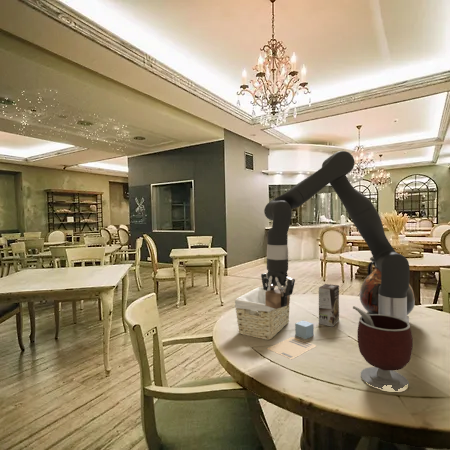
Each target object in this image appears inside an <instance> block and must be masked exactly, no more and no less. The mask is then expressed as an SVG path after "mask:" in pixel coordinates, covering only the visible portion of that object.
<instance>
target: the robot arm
mask: <svg viewBox="0 0 450 450" xmlns="http://www.w3.org/2000/svg"><path fill="white" fill-rule="evenodd" d="M355 164H356V163H355V158H354V156H353V155H352V153H350V152H349V151H346V150H339V151H336V152H334V153H333V154H332V155H330V156H329V157H328V158H326V159H325V160H324V161H323V162H322V165H321V167H320V168H319V169H318V170H316V171H315V172H314V173H312V174H310V175H309V176H307V177H306V178H304V179H302V180H301V181H299V182H298V183H297V184H295V185H294V186H293V187H291V188H290V189H289V190H287V192H285V193H283V194H281V195H279V196H276V197H275V198H273V199H272V200H270V201H268V202H267V204H266V205H265V207H264V210H263V212H264V216H265V217H266V219H267V220H269V221H272V226H271V227H270V228H269V229H268V230H267V247H266V270H267V272H265V273H261V274H260V276H261V277H260V278H261V282H262V287H263V289H264V290H266V291H270V290H274V288H275V289H276V287H277V289H279V290H280V293H281V307H285V306H286V305H287V296H288V295H290V296H292V294H293V292H294V286H295V282H296V279H295V278H291V277H289V275H288V270H289V246H288V245H289V244H288V240H289V239H288V232H289V228H290V225H291V220H292V214H293V213H292V210H294V209H297V208H299V207H300V206H302V205H303V204H305V203H306V202H308V201H309V200H310V199H312V197H314V196H315V195H317V194H318V193H319V192H320V191H321V190H322V189H324V188H325V187H326V186H328V185H330V187H332V189H333V190H334V192H335V193H336V195H337V197H338V198H339V199H340V202H341V204H342V205H343V207H344V209H345V210H346V212H347V214H348V216H349V218H350V219H351V221H352V223H353V225H354V226H355V228H356V230H357V231H358V233H359V234H360V236H361V237H362V239H363V240H364V242H365V243H366V245H367V247H368V249H369V251H370V253H371V257H373V258H374V260H375V263H376V265H377V267H378V269H379V270H380V271H381V285H380V286H379V314H381V315H389V316H393V317H397V318H400V319H403V320H405V321H407V322H408V323H409V324H410V317H409V315H407V291H408V289H409V284H410V271H411V270H410V263H409V261H408V259H407V258H406V256H405V255H402V254H401V253H398V252H396V250H395V249H394V247H393V246H392V244H391V242H390V241H389V240H388V238H387V236H386V232H385V228H384V226H383V222H382V219H381V217H380V214H379V212H378V211H377V209H376V207H375V205H374V204H373V202H372V201H371V200H370V199H369V198H368V197H367V196H366V195H365V194H363V193H361V192H360V191H359V190H357V189H356V188H355V187H354V186H353V185H352V184H351V182H350V180H349V179H348V177H347V175H349V174H350V173H351V172H352V171H353V169H354V167H355ZM283 290H284V291H283Z"/></svg>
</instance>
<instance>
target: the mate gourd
mask: <svg viewBox="0 0 450 450" xmlns="http://www.w3.org/2000/svg"><path fill="white" fill-rule="evenodd" d="M352 309H353V310H355V311H356V312H358V313H359V314H360V317H359V318H358V319H359V321H358V325H357V345H358V350H359V353H360V355H361V356H362V357H363V359H364V361H366V363H367V364H369V365H370V366H369V367H365V368H363V369H362V370H361V372H360V379H361V378H362V379H363V380H364V381H365V382H367V383H368V384H370V385H372V386H374V387H378V388H381V389H383V388H382V387H383V386H384V385H386V386H387V385H392V387H391V388H393V389H394V390H395V391H398V389H400V388H403V387H404V386H405V385H407V384H408V386H409V387H410V381H409V380H408V379H407V378H406V377H405V376H404V375H403V374H401V373H399V372H398V371H401V370H402V369H404V368H405V366H407V365H408V364H409V363H410V360H411V358H412V353H413V334H412V330H411V324H410V322H409V323H408V322H407V321H405V320H403V319H400V318H397V317H393V316H389V315H381V314H367V311H366V312H365V311H364V310H363V309H361V308H358V307H357V306H356V305H353V306H352ZM362 379H361V380H362ZM363 380H362V381H363ZM364 381H363V382H364ZM365 382H364V383H365Z"/></svg>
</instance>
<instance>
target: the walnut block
mask: <svg viewBox="0 0 450 450" xmlns="http://www.w3.org/2000/svg"><path fill="white" fill-rule="evenodd" d="M283 291H284V290H283ZM288 305H289V306H290V304H289V295H288V296H287V305H286V306H288ZM265 306H268V307H271V308H274V309H278V308H281V293H280V290H279V289H278V288H275V289H274V290H270V291H266V299H265Z"/></svg>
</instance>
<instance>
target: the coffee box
mask: <svg viewBox="0 0 450 450" xmlns="http://www.w3.org/2000/svg"><path fill="white" fill-rule="evenodd" d="M339 322H340V286H339V285H338V284H331V283H330V284H328V283H324V284H323V285H321V286H319V287H318V324H319V325H323V326H328V327H334V326H335V325H336V324H337V323H339Z"/></svg>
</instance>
